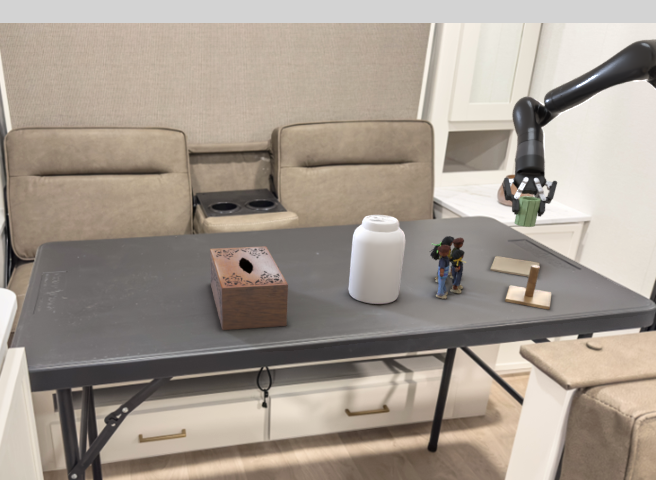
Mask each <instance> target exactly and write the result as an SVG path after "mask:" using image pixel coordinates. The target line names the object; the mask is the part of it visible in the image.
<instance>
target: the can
mask: <svg viewBox="0 0 656 480" xmlns="http://www.w3.org/2000/svg"><path fill="white" fill-rule="evenodd" d="M405 249H406V235H405V232H404V231H403V229H401V227H400V221H399V219H397V218H396V217H394V216H392V215H387V214H370V215H366V216H364V217H363V219H362V221H361V224H360V225H359V226H357V227H356V228H355V229H354V232H353V234H352V243H351V255H350V265H349V267H350V268H349V278H348V294H349V295H350V296H351V297H352V298H353V299H354V300H357V301H359V302H362V303H367V304H371V305H372V304H373V305H374V304H375V305H383V304H389V303H392V302H394V301H396V300H397V299H398V297H399V295H400V289H401V280H402V272H403V265H404V264H403V263H404V258H405V257H404V256H405Z"/></svg>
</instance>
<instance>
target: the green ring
mask: <svg viewBox="0 0 656 480" xmlns="http://www.w3.org/2000/svg"><path fill="white" fill-rule="evenodd" d="M518 199H519V212H518V214H517V215H515V217H514V222H513V223H514V224H515V225H516V226H518V227H524V228H532V227H536V223H537V218H538V209H539V205H540V200H541V199H539V198H536V197H535V196H532V195H531V196H529V195H523V196H520V197H519V198H518Z"/></svg>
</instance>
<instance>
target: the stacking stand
mask: <svg viewBox="0 0 656 480" xmlns="http://www.w3.org/2000/svg"><path fill="white" fill-rule="evenodd" d="M540 268H541V267H540V265H539V266H537V265H531V268H530V273H529V277H527V282H526V286H525V287H523V286H516V285H511V284H509V286H508V289H507V292H506V296H505V298H504V302H506V303H511V304H517V305H521V306H528V307H534V308H539V309H544V310H547V311H549V310H550V307H551V302H552V301H551V300H552V292H551V291H546V290H540V289H536V286H537V281H538V277H539V272H540Z"/></svg>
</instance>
